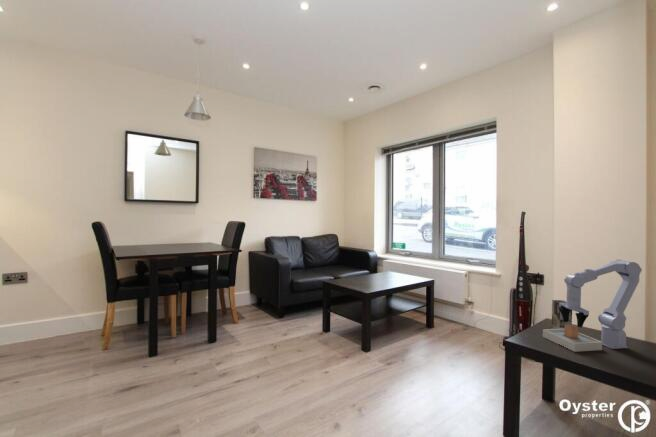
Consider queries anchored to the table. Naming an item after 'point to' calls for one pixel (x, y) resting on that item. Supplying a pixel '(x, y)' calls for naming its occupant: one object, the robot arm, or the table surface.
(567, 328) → the peg
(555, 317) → the coffee box
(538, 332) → the table surface
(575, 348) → the tray
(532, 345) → the table surface
